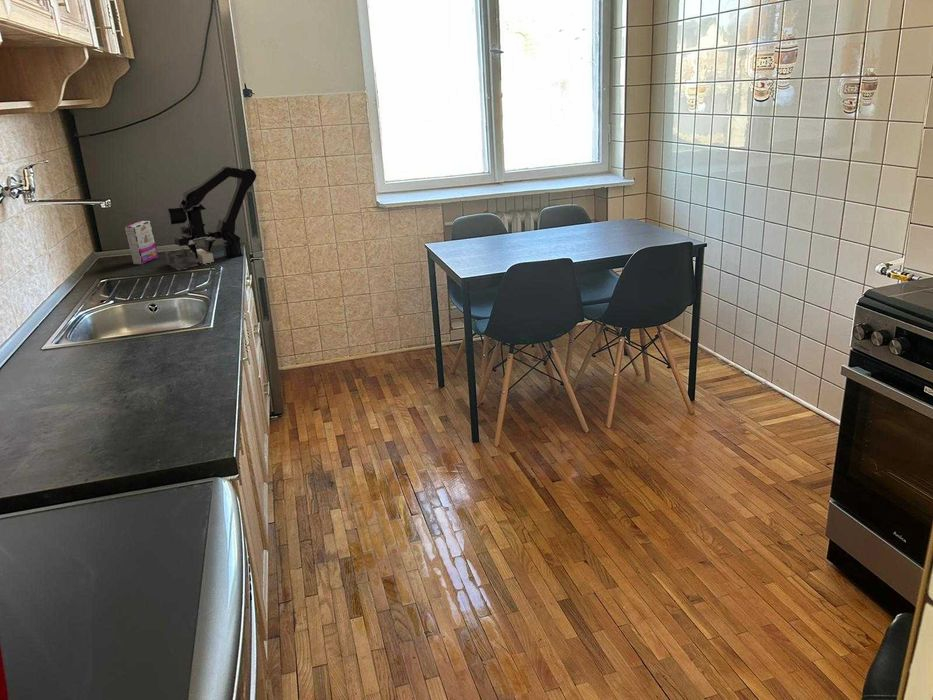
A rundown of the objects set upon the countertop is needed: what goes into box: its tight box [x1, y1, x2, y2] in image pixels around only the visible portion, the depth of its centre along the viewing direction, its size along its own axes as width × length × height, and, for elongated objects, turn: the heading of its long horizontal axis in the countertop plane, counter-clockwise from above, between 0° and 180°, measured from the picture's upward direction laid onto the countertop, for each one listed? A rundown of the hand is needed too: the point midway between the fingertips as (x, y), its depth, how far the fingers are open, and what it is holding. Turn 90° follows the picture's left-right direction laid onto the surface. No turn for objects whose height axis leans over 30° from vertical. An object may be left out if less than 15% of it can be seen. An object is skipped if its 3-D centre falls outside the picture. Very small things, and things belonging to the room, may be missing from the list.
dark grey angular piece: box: [164, 248, 199, 270], centre depth 296 cm, size 8×14×6 cm, turn 42°
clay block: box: [190, 248, 215, 265], centre depth 302 cm, size 4×12×4 cm, turn 42°
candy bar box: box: [124, 220, 159, 265], centre depth 303 cm, size 11×5×16 cm, turn 167°
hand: (202, 257), depth 302 cm, fingers closed on clay block, 4 cm apart
